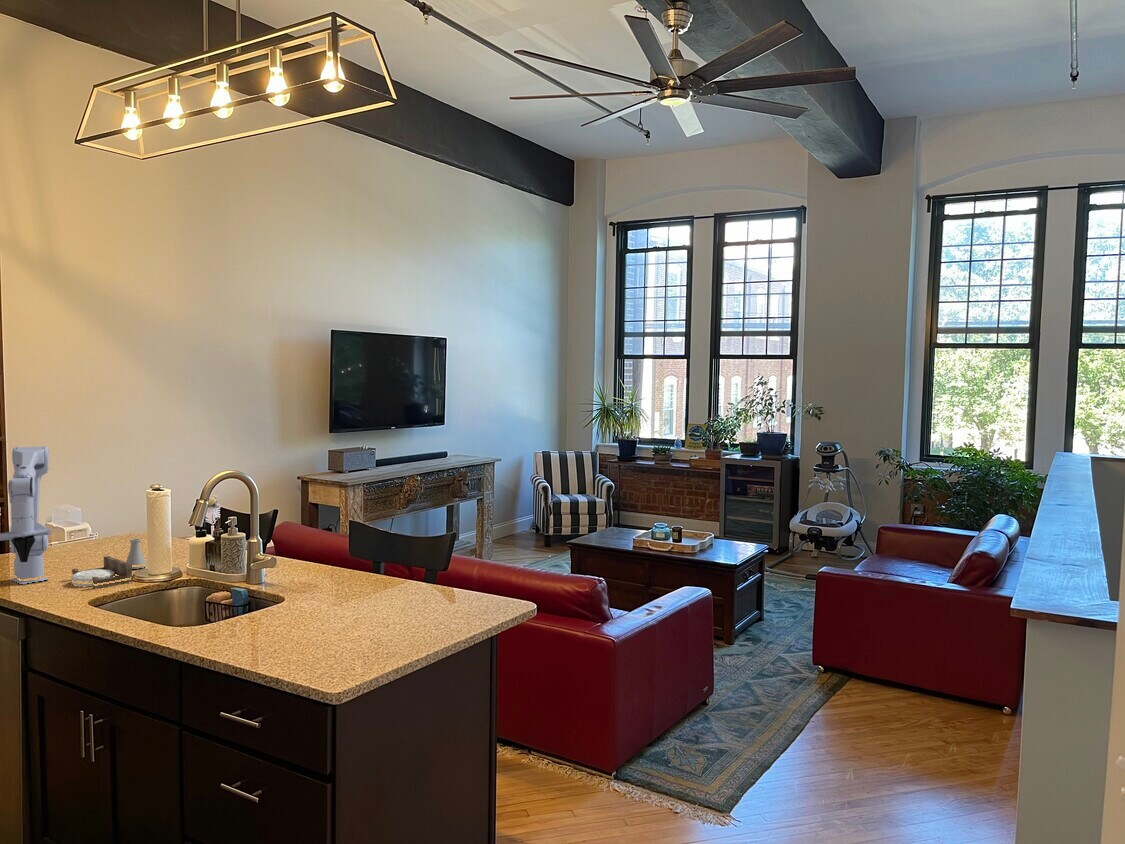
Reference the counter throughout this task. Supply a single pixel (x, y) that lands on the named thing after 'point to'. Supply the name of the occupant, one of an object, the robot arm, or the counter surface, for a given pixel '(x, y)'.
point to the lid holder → (115, 565)
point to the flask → (136, 554)
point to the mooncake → (89, 574)
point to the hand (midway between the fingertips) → (23, 561)
